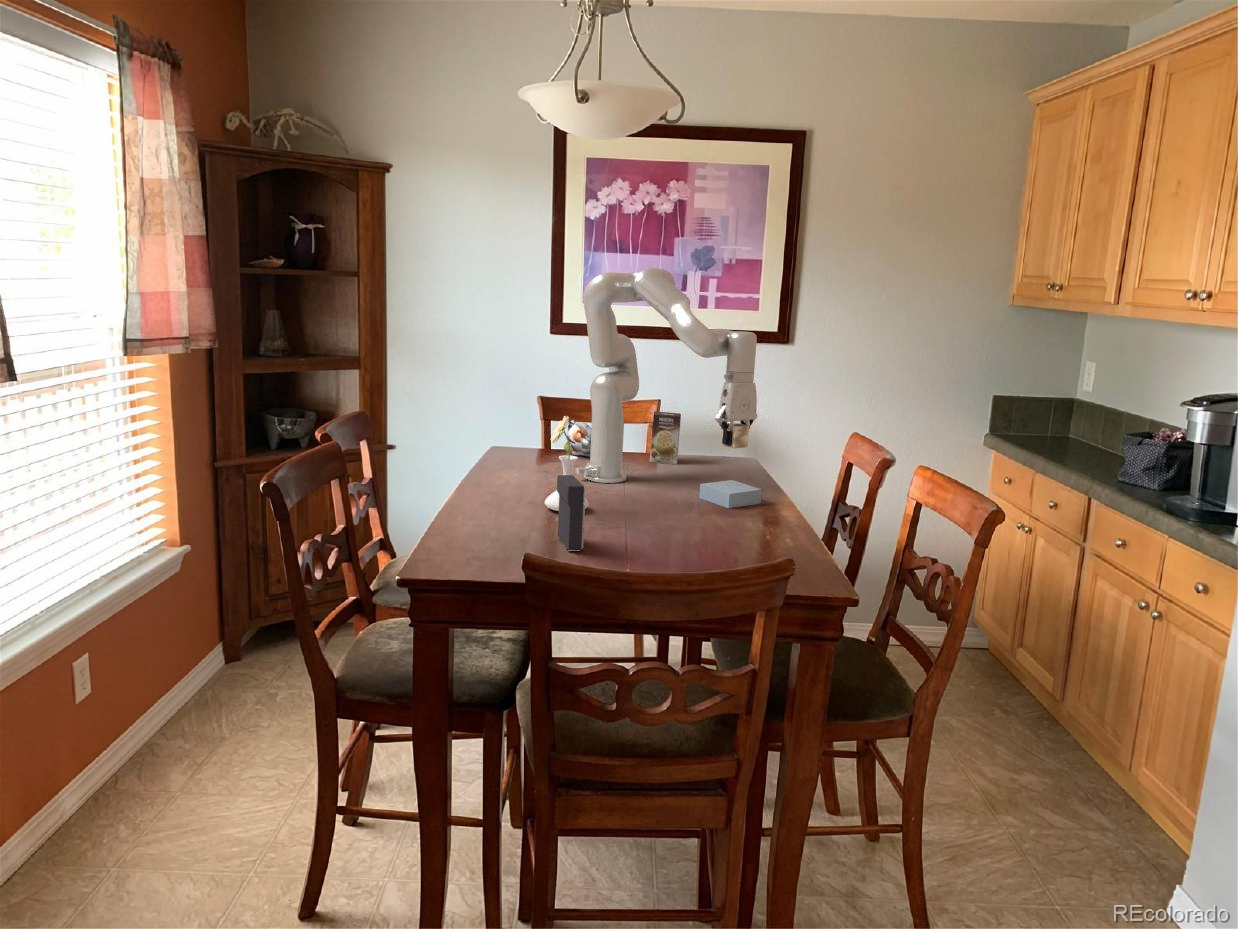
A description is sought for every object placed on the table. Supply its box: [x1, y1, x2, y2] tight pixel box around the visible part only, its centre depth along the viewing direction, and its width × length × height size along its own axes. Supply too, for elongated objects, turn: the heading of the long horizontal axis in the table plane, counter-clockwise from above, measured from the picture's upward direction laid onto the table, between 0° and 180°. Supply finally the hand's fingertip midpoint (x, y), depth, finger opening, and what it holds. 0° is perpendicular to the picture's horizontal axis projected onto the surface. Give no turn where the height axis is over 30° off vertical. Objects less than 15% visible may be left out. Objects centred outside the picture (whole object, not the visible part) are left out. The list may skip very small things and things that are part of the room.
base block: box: [698, 479, 763, 509], centre depth 252 cm, size 12×12×4 cm
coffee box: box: [649, 411, 682, 465], centre depth 297 cm, size 9×6×16 cm
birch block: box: [721, 422, 750, 449], centre depth 249 cm, size 5×5×6 cm
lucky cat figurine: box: [566, 419, 592, 457], centre depth 300 cm, size 15×12×14 cm
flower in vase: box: [544, 415, 590, 512], centre depth 231 cm, size 13×11×25 cm
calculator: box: [556, 474, 586, 551], centre depth 204 cm, size 11×4×15 cm, turn 17°
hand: (734, 443), depth 249 cm, fingers closed on birch block, 5 cm apart
